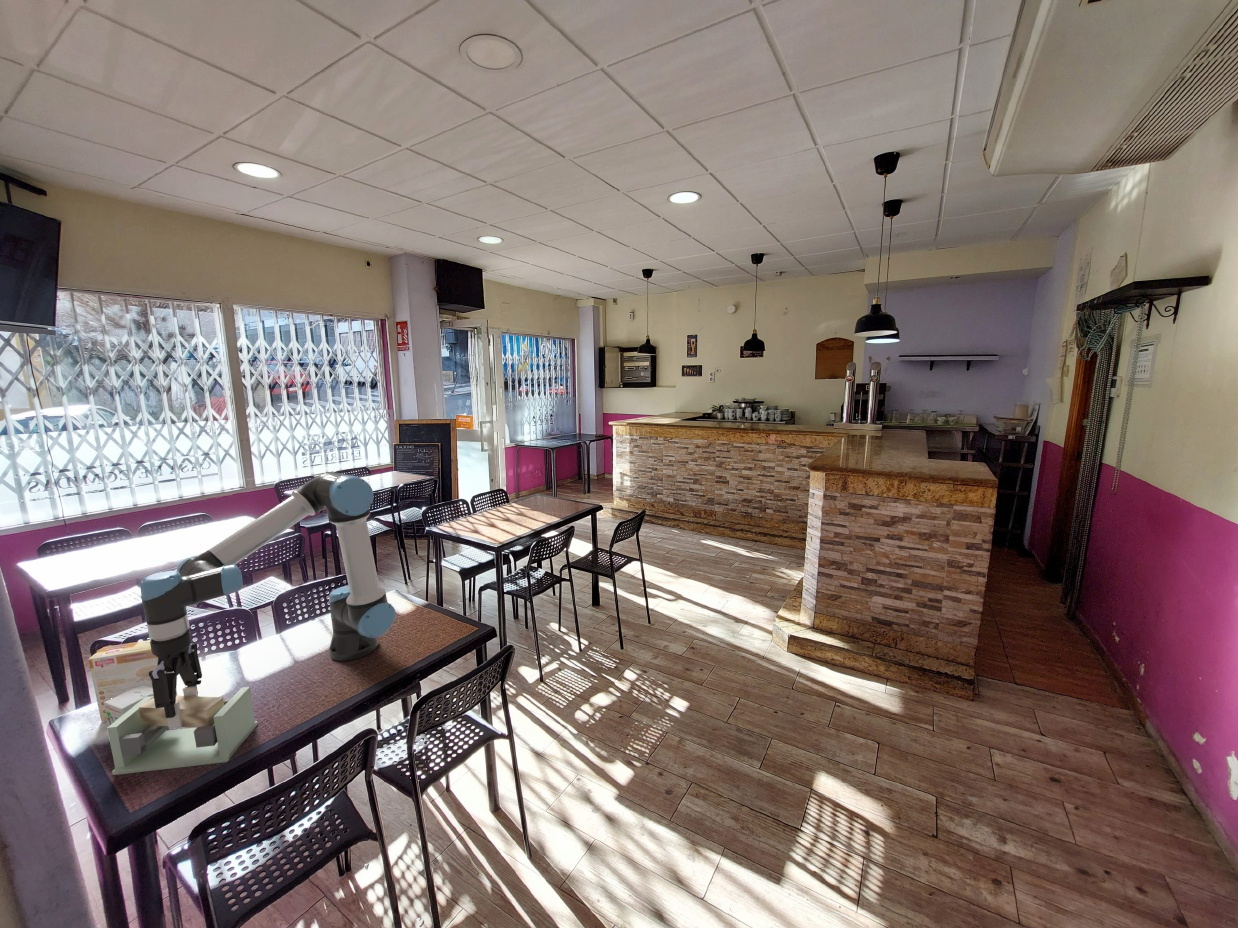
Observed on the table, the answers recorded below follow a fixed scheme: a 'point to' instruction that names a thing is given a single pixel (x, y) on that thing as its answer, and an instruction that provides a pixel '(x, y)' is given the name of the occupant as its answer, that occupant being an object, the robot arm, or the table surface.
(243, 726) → the bracket stand
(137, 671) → the coffeecake box
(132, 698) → the ink box
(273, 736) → the table surface
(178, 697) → the rail
